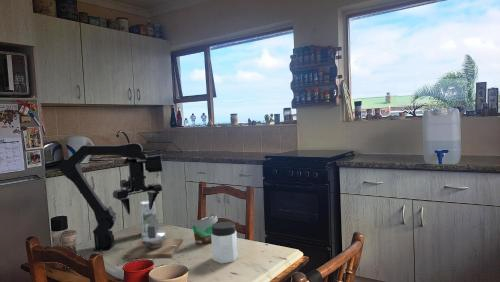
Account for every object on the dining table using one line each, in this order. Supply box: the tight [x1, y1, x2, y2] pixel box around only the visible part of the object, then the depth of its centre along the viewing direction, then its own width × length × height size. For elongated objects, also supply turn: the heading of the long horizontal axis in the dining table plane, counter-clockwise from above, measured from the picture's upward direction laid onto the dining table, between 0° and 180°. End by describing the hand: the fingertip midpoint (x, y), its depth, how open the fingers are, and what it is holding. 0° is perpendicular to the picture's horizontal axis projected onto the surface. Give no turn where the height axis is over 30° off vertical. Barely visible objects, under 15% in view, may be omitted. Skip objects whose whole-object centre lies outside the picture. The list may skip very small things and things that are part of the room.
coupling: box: [141, 218, 167, 245], centre depth 141 cm, size 11×9×7 cm
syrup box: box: [139, 199, 157, 234], centre depth 161 cm, size 6×6×14 cm
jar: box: [211, 221, 239, 264], centre depth 127 cm, size 9×8×12 cm
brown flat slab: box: [122, 238, 184, 259], centre depth 141 cm, size 18×16×3 cm
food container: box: [191, 212, 219, 246], centre depth 146 cm, size 12×6×10 cm, turn 143°
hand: (139, 211), depth 149 cm, fingers open, 9 cm apart
